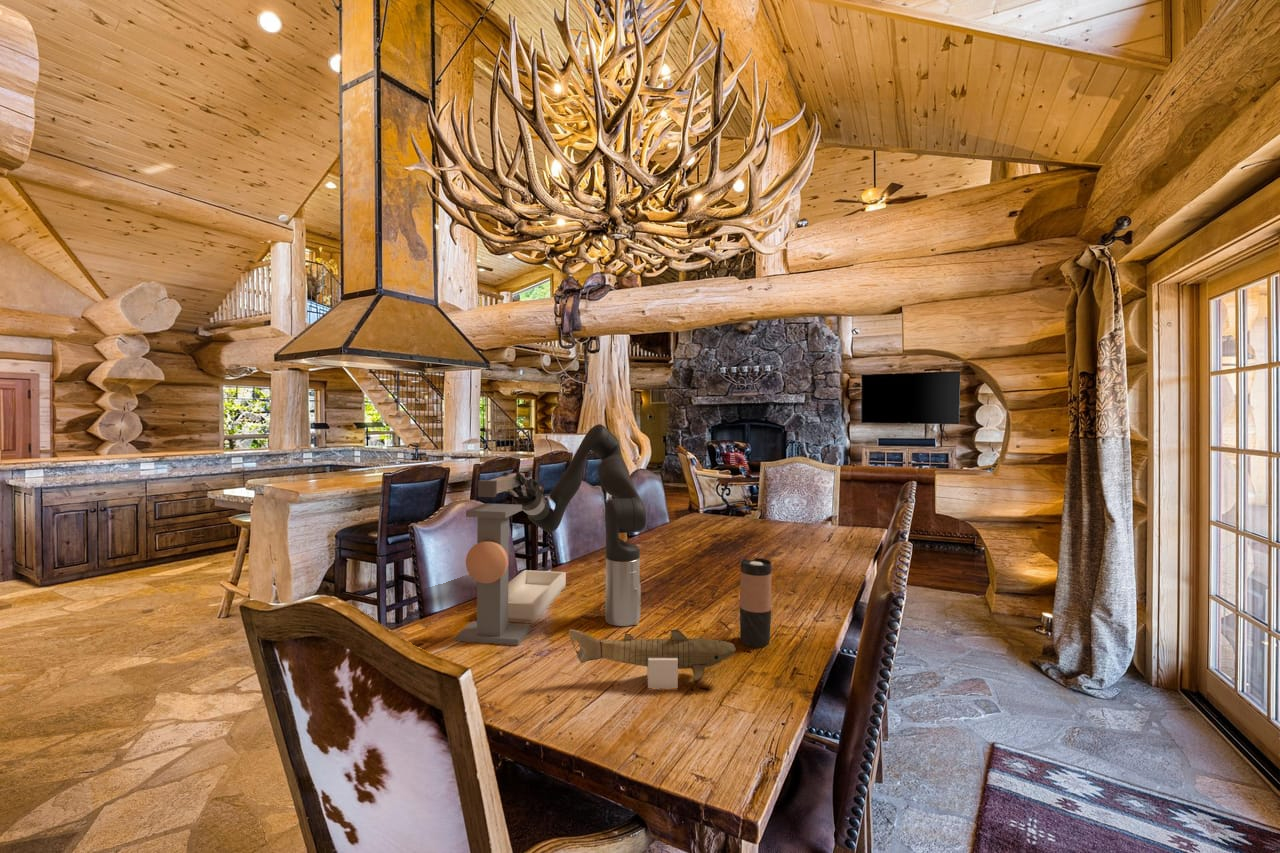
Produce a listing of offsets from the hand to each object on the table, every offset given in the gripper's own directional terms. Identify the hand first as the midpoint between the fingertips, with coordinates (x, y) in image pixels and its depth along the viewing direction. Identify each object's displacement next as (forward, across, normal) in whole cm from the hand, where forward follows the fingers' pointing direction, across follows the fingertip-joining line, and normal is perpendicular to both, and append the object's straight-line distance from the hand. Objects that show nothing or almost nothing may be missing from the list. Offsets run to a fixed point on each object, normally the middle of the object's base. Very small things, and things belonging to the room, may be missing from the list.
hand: (511, 475), depth 142 cm
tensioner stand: (-11, 0, +39) cm, 41 cm away
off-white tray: (-32, 0, +27) cm, 42 cm away
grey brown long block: (+2, 0, +5) cm, 5 cm away
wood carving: (+4, +42, +48) cm, 64 cm away
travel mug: (-17, +65, +36) cm, 76 cm away
